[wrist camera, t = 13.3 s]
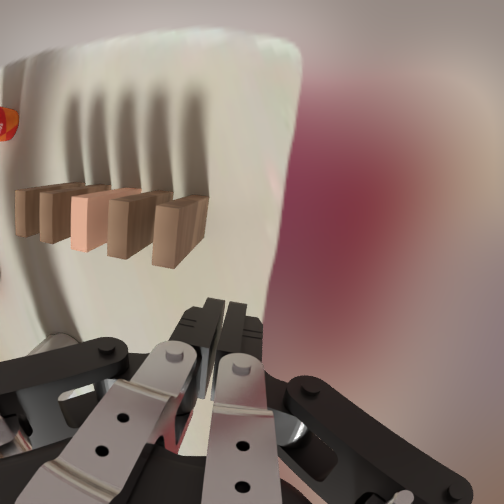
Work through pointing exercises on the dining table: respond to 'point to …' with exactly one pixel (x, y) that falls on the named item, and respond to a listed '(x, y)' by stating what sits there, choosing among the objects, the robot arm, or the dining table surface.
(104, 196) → the domino
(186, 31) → the dining table surface
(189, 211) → the domino
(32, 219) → the domino
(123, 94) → the dining table surface
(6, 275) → the dining table surface
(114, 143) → the dining table surface
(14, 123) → the paper cup
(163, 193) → the domino
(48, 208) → the domino
